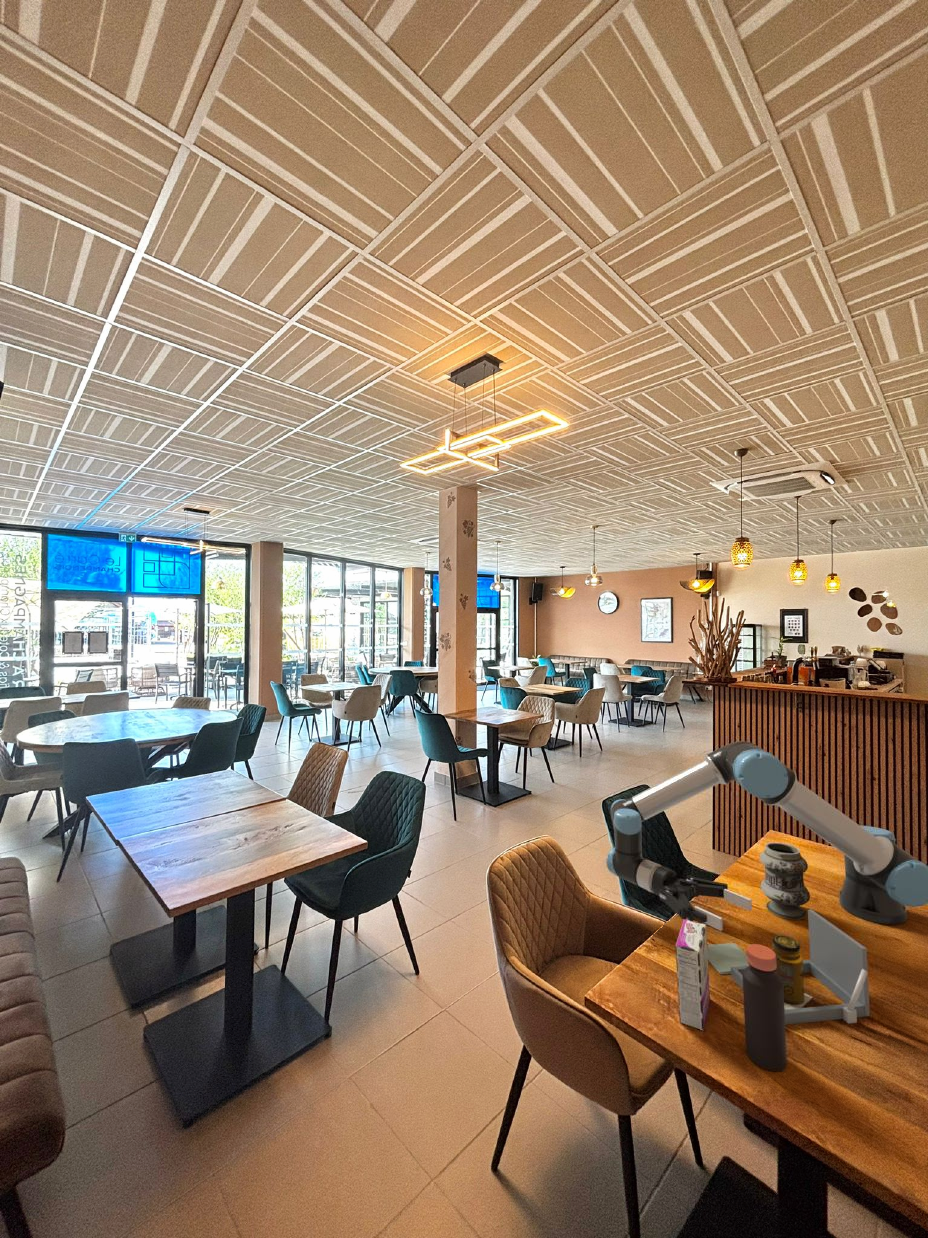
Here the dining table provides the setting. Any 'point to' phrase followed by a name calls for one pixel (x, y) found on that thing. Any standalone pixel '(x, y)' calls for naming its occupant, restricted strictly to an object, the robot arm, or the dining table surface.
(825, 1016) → the grey holder frame
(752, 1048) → the bottle
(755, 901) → the dining table surface
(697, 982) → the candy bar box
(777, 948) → the condiment
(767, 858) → the apothecary jar
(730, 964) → the pad
